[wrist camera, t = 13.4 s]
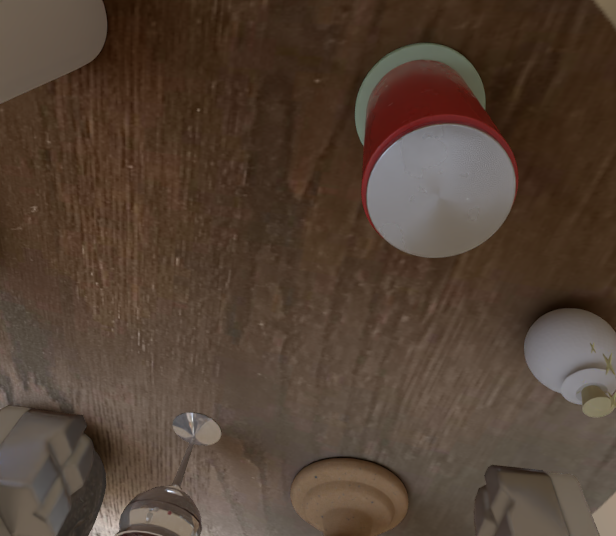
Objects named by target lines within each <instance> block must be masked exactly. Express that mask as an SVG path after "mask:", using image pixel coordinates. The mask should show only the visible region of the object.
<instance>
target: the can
mask: <svg viewBox="0 0 616 536" xmlns="http://www.w3.org/2000/svg"><path fill="white" fill-rule="evenodd" d="M517 190H518V168H517V163H516V159H515V157H514V154H513V152H512V150H511V148H510V146H509V145H508V143H507V142H506V140H505V139H504V137H503V136H502V134H501V133H500V131H499V130H498V129H497V127H496V126H495V124H494V123H493V121H492V120H491V118H490V117H489V115H488V114H487V113H486V111H485V110H484V108H483V107H482V105H481V104H480V102H479V101H478V100H477V98H476V97H475V95H474V94H473V92H472V91H471V89H470V88H469V86H468V85H467V84H466V82H465V81H464V79H463V78H462V77H461V76H460V74H458V73H457V72H456V71H455V70H454V69H452V68H451V67H449V66H448V65H446V64H443V63H441V62H438V61H433V60H414V61H410V62H406V63H404V64H401V65H399V66H397V67H395V68H394V69H392V70H391V71H389V72H388V73H387V74H386V75H385V76H383V77H382V78H381V80H380V81H379V82H378V83H377V84H376V86H375V88H374V89H373V91H372V93H371V95H370V97H369V100H368V103H367V108H366V120H365V137H364V154H363V171H362V188H361V195H362V203H363V208H364V211H365V213H366V216H367V218H368V220H369V222H370V224H371V225H372V227H373V228H374V229H375V231H376V232H377V233H378V234H379V235H380V236H381V237H382V238H383V239H385V240H386V241H387V242H388V243H390V244H391V245H392V246H394V247H396V248H397V249H399V250H401V251H403V252H406V253H408V254H412V255H415V256H420V257H428V258H441V257H449V256H454V255H457V254H461V253H464V252H466V251H469V250H471V249H473V248H475V247H477V246H479V245H480V244H482V243H483V242H485V241H486V240H487V239H488V238H490V237H491V236H492V235H493V234H494V233H495V232H496V231H497V230H498V229H499V228H500V226H501V225H502V224H503V222H504V221H505V219H506V218H507V216H508V214H509V212H510V210H511V208H512V206H513V203H514V201H515V198H516V194H517Z"/></svg>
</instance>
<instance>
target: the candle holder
mask: <svg viewBox="0 0 616 536" xmlns="http://www.w3.org/2000/svg"><path fill="white" fill-rule="evenodd" d="M290 496H291V502H292V505H293V507H294V509H295V510H296V512H297V513H298V514H299V515H300V516H301V517H302V518H303V519H304V520H305V521H306V522H308V523H309V524H311V525H312V526H314V527H315V528H317V529H318V530H320V531H322V532H324V536H376V535H379V534H380V533H384V532H386V531H388V530H390V529H392V528H394V527H395V526H397V525H398V524H399V523H400V522H401V521H402V520H403V518H404V517H405V515H406V513H407V510H408V503H409V501H408V495H407V491H406V489H405V486H404V485H403V483H402V482H401V481H400V479H399V478H398V477H397V476H395V475H394V474H393V473H392V472H390V471H389V470H387V469H385V468H383V467H381V466H379V465H377V464H374V463H371V462H368V461H364V460H359V459H352V458H332V459H325V460H321V461H318V462H315V463H312V464H310V465H308V466H307V467H305V468H303V469H302V470H301V471H300V472H299V473H298V474H297V475H296V477H295V478H294V480H293V483H292V485H291V491H290Z"/></svg>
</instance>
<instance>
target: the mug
mask: <svg viewBox="0 0 616 536" xmlns="http://www.w3.org/2000/svg"><path fill="white" fill-rule="evenodd" d="M106 35H107V16H106V11H105V7H104V3H103V1H102V0H0V104H1V103H3V102H5V101H8V100H10V99H12V98H14V97H16V96H19V95H21V94H23V93H25V92H27V91H30V90H32V89H34V88H36V87H39V86H41V85H43V84H45V83H48V82H50V81H52V80H54V79H57V78H59V77H61V76H64V75H66V74H68V73H70V72H72V71H74V70H76V69H78V68H80V67H82V66H84V65H86V64H88V63H90V62H91V61H92V60H94V59H95V58H96V57H97V55H98V54H99V53H100V51H101V50H102V48H103V45H104V43H105V40H106Z"/></svg>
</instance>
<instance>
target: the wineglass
mask: <svg viewBox="0 0 616 536" xmlns="http://www.w3.org/2000/svg"><path fill="white" fill-rule="evenodd" d="M173 429H174V431H175V432H176V434H177V435H178V436H179V437H180V438H182V439H183V440H185V441H187V442H189V446H188V448H187V450H186V453H185V455H184V457H183V460H182V462H181V464H180V467H179V469H178V471H177V474H176V476H175V478H174V481H173V483H172V484H171V485H168V486H167V487H166V486H159V487H154V488H152V489H150V490H147V491H145V492H143V493H140V494H138V495H136V496H135V497H134V499H133V500H132V501H131V502H130V503H129V504H128V505H127V506H126V508H125V509H124V511H123V513H122V514H121V517H120V522H119V532H118V533H117V534H116V535H115V536H200V534H201V530H202V524H201V516H200V512H199V510H198V508H197V507H196V505H195V503H194V502H193V500H192V499H191V497H190V496H189V495H187V494H186V493H185V492H183V491H182V488H181V487H180V486H181V483H182V480H183V477H184V474H185V471H186V467H187V464H188V461H189V458H190V455H191V452H192V448H193V445H194V444H195V445H203V446H205V445H212V444H214V443H216V442H217V441H218V440H219V439H220V437H221V430H220V428H219V426H218V425H217V423H216V422H214V421H213V420H212V419H211V418H209V417H207V416H205V415H201V414H198V413H184V414H181V415H179V416H177V417H176V418H175V419H174V421H173Z"/></svg>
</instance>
